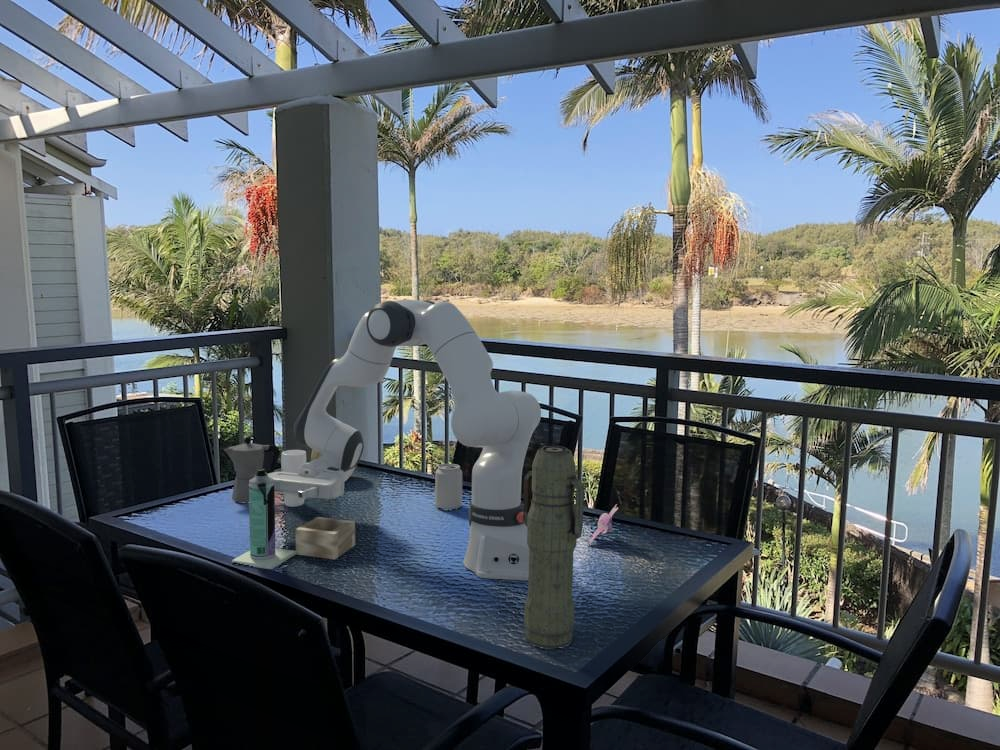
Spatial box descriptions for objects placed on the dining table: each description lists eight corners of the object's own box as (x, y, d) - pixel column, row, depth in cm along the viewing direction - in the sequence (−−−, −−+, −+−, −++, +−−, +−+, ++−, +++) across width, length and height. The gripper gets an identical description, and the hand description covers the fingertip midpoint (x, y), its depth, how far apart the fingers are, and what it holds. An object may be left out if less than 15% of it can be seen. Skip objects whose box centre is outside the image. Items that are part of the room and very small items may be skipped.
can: (467, 506, 222) (467, 465, 221) (451, 513, 216) (452, 470, 214) (445, 502, 226) (446, 461, 225) (429, 508, 220) (430, 466, 218)
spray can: (279, 556, 178) (278, 470, 176) (257, 562, 174) (255, 473, 172) (268, 549, 182) (267, 465, 180) (246, 555, 178) (244, 469, 176)
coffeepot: (222, 504, 219) (220, 440, 217) (227, 495, 228) (226, 434, 226) (279, 502, 222) (278, 440, 220) (282, 493, 231) (281, 433, 229)
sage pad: (295, 554, 182) (295, 550, 182) (271, 569, 173) (271, 565, 172) (258, 549, 185) (258, 545, 185) (232, 563, 175) (231, 560, 175)
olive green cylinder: (531, 621, 149) (536, 440, 145) (588, 637, 143) (595, 448, 139) (507, 639, 142) (512, 448, 138) (566, 656, 136) (573, 458, 131)
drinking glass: (300, 509, 216) (299, 455, 214) (277, 507, 218) (276, 454, 216) (310, 502, 223) (310, 450, 221) (288, 500, 224) (288, 448, 222)
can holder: (355, 545, 189) (355, 521, 188) (334, 559, 179) (334, 534, 178) (317, 540, 192) (317, 516, 191) (295, 554, 182) (295, 529, 181)
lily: (605, 535, 203) (588, 504, 202) (644, 527, 196) (627, 494, 195) (587, 563, 194) (569, 530, 192) (628, 555, 187) (609, 521, 185)
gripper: (276, 463, 200) (244, 476, 187) (349, 470, 195) (321, 484, 181) (276, 487, 201) (244, 501, 188) (349, 495, 195) (321, 511, 182)
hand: (283, 493), depth 185 cm, fingers open, 8 cm apart
